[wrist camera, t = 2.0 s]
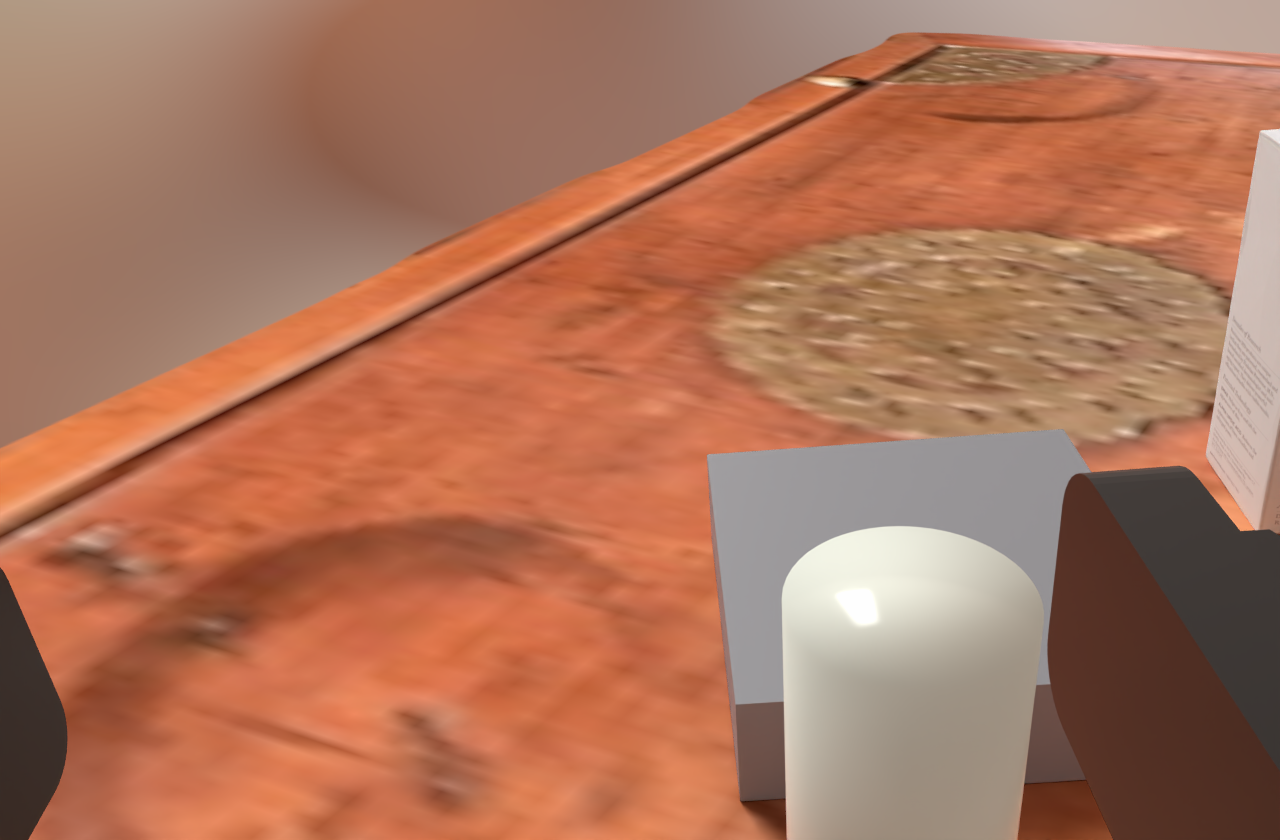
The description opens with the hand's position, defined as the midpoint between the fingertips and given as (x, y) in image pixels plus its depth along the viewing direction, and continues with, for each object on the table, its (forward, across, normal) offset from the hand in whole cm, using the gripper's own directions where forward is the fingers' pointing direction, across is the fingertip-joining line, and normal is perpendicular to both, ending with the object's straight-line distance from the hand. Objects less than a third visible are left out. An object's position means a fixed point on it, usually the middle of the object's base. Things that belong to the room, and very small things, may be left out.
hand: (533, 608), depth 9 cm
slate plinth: (+26, -9, +22) cm, 35 cm away
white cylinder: (+10, -5, +22) cm, 25 cm away
